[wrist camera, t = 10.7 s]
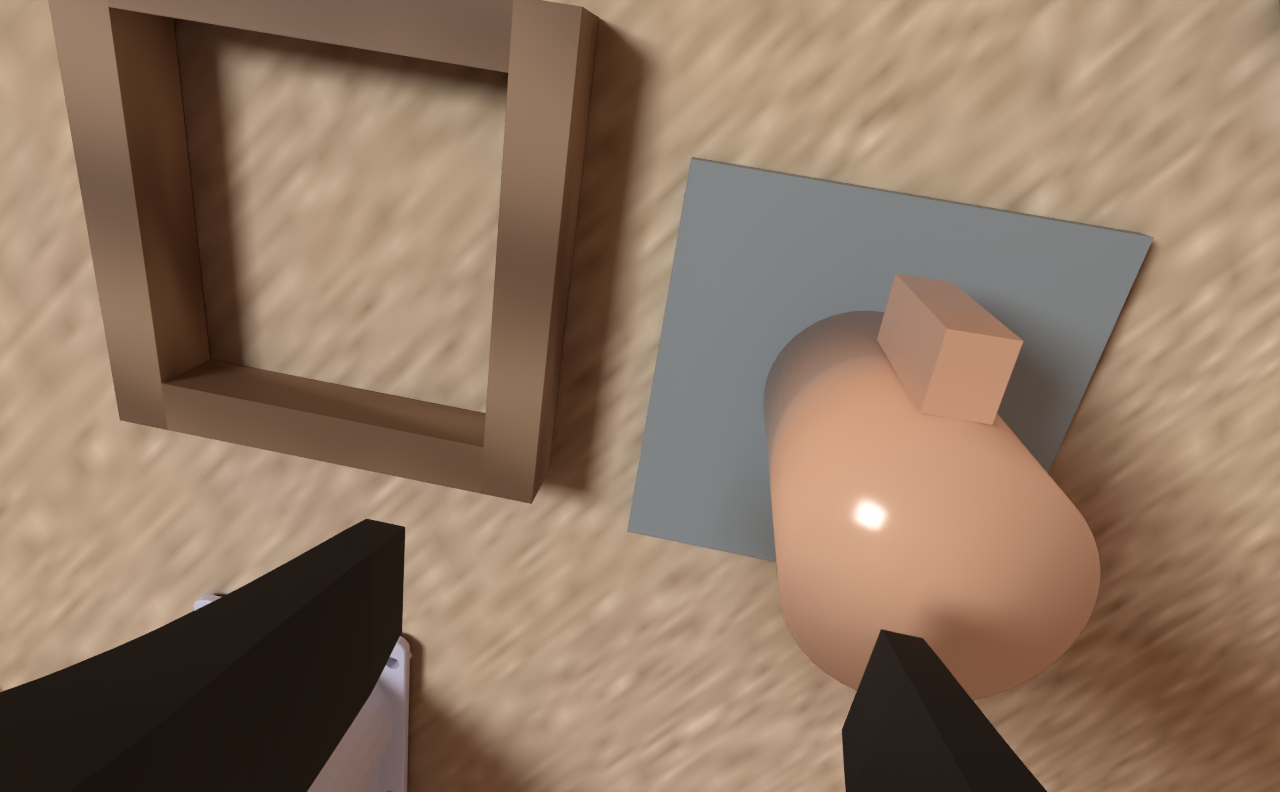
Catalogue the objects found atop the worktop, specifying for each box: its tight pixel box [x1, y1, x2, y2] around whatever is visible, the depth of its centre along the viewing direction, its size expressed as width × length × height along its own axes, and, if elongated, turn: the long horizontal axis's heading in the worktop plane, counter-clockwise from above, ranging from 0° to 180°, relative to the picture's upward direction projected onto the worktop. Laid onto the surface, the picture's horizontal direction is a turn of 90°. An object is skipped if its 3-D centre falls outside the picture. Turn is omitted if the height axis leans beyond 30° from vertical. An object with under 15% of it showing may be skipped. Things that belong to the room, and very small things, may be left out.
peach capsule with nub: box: [763, 274, 1101, 700], centre depth 15 cm, size 6×5×8 cm
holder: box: [48, 0, 599, 504], centre depth 18 cm, size 12×12×2 cm
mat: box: [627, 157, 1154, 562], centre depth 19 cm, size 11×11×1 cm
